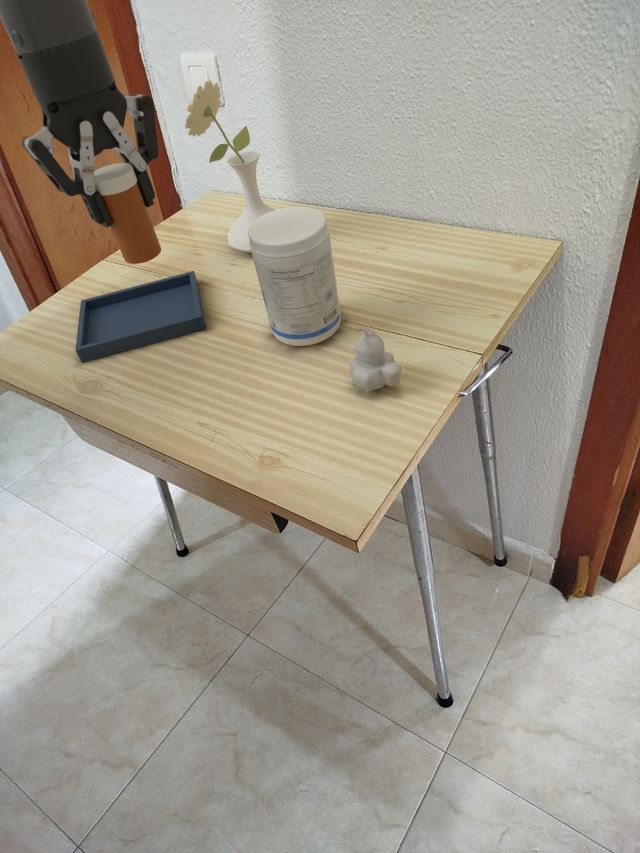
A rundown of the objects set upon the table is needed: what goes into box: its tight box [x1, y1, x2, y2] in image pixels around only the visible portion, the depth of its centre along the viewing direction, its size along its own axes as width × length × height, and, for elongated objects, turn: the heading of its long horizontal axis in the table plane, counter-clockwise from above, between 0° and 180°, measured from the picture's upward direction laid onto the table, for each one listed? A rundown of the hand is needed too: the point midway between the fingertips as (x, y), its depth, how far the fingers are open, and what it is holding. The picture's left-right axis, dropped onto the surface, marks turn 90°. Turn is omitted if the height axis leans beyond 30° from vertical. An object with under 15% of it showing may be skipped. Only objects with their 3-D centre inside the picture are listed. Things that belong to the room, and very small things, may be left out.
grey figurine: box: [349, 326, 402, 392], centre depth 65 cm, size 5×7×8 cm
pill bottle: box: [94, 162, 162, 265], centre depth 65 cm, size 5×5×10 cm
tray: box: [75, 270, 207, 363], centre depth 86 cm, size 18×14×2 cm
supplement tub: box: [248, 205, 342, 347], centre depth 73 cm, size 10×10×15 cm
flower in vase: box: [184, 79, 277, 254], centre depth 89 cm, size 13×11×25 cm
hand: (126, 214), depth 65 cm, fingers closed on pill bottle, 4 cm apart
